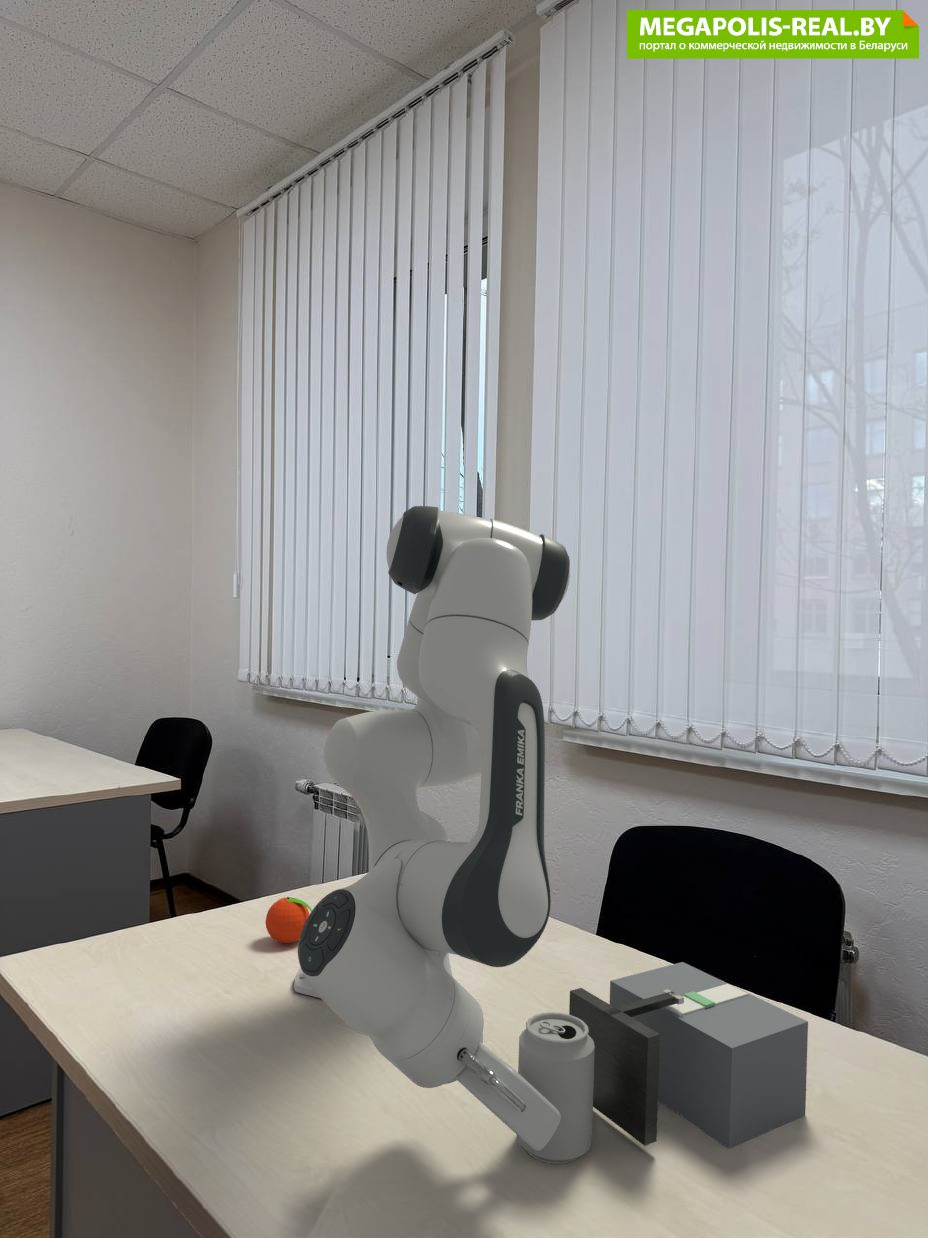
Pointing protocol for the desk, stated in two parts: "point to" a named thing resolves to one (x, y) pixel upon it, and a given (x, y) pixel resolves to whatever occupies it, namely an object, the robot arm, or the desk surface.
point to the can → (560, 1080)
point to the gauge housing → (722, 1053)
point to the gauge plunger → (624, 1060)
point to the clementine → (287, 919)
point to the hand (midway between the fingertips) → (518, 1108)
